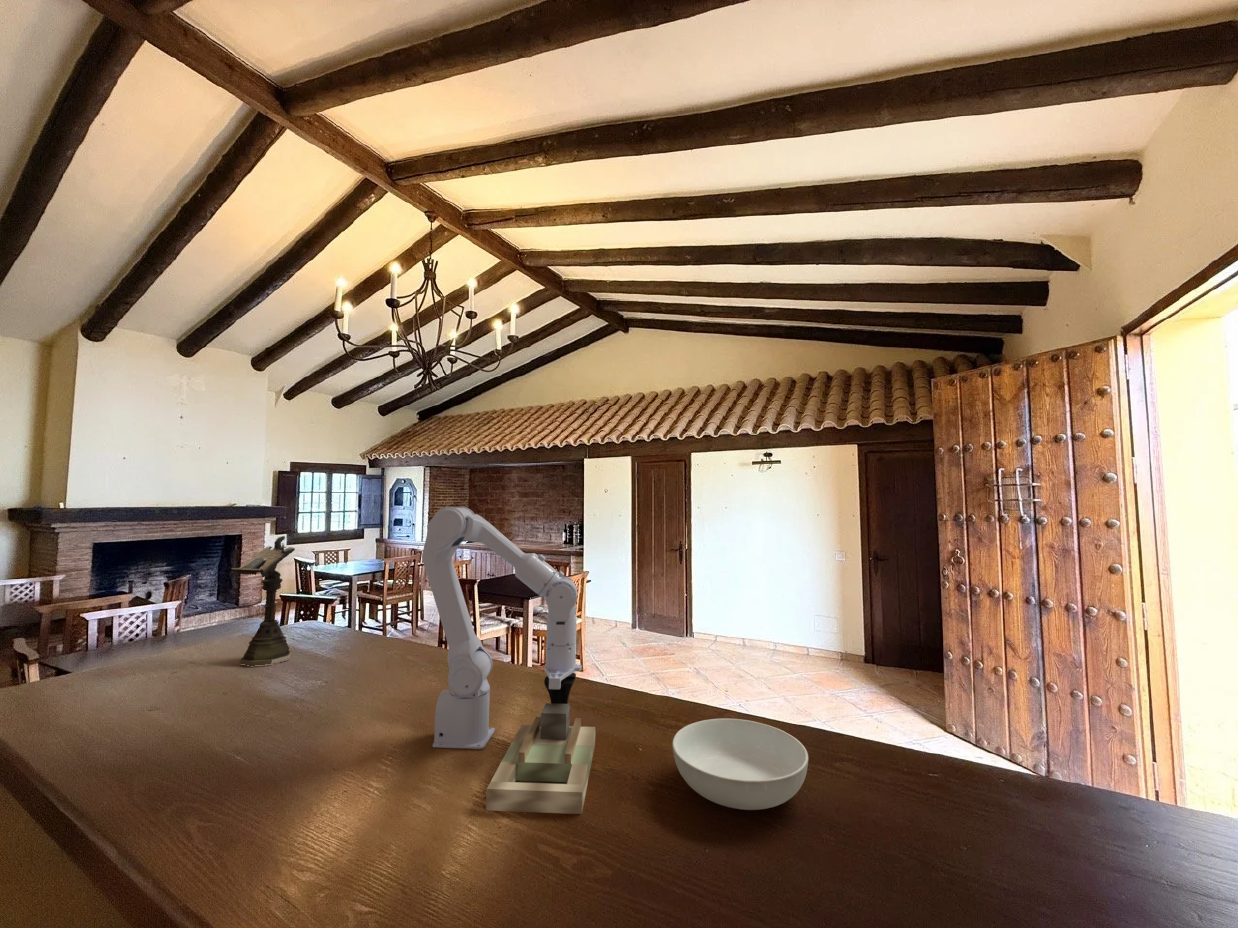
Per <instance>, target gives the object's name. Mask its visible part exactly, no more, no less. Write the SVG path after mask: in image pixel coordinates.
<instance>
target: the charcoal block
mask: <svg viewBox="0 0 1238 928" xmlns="http://www.w3.org/2000/svg"><path fill="white" fill-rule="evenodd" d="M570 707H571V704H570V703H568V704H552V703H551V702H549V703H547V702H546V703H545V704H544V707H543V708H542V711H541V712H540V717H541V739H546V740H566V738H567V735H568V732H569V726H570V721H571V720H570V718H571V717H570V714H571V713H570V710H571V708H570Z"/></svg>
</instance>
